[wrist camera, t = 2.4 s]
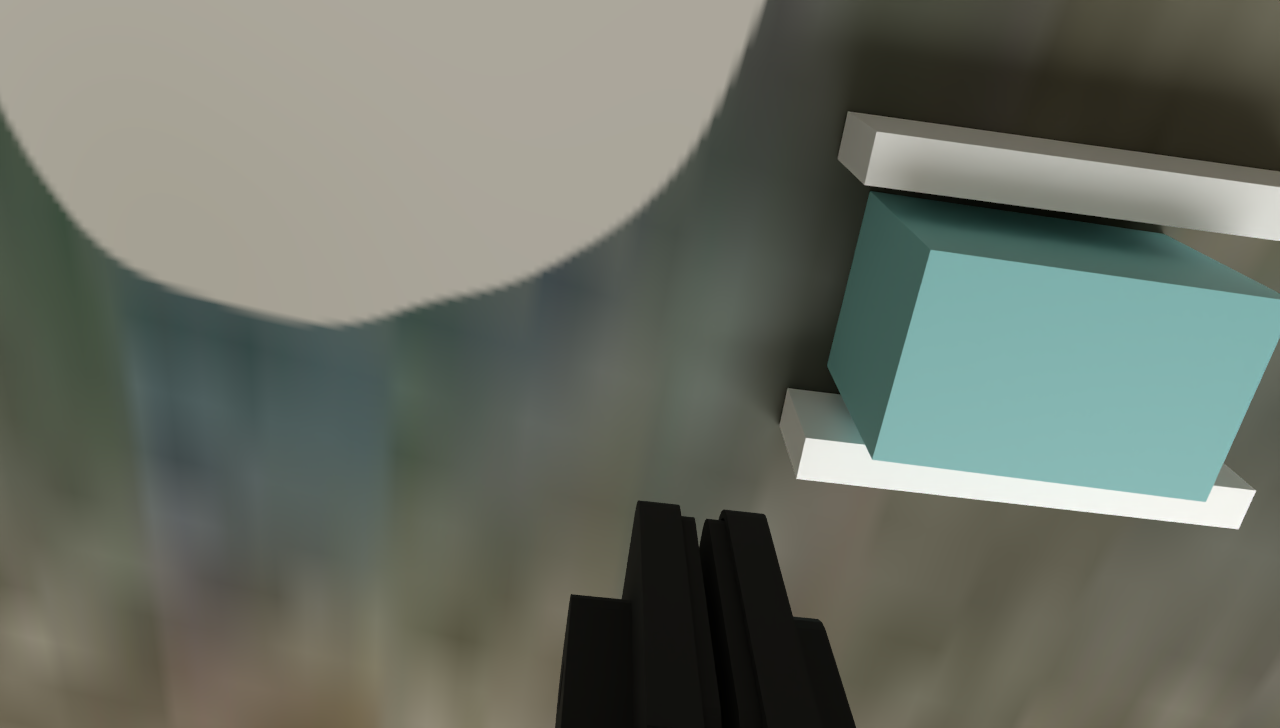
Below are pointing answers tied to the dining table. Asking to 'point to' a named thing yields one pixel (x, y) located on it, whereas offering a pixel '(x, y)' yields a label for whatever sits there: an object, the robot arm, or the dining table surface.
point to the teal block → (1047, 348)
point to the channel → (1044, 181)
